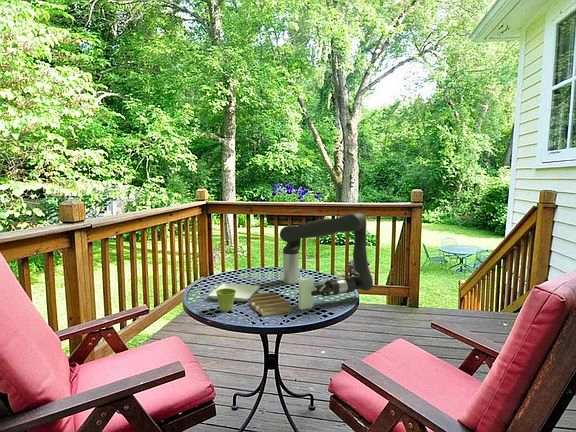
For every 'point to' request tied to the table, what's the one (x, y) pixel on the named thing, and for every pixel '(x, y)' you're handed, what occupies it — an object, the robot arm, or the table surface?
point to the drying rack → (269, 304)
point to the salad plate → (237, 291)
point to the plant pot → (225, 298)
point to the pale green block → (306, 293)
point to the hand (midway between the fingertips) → (307, 291)
